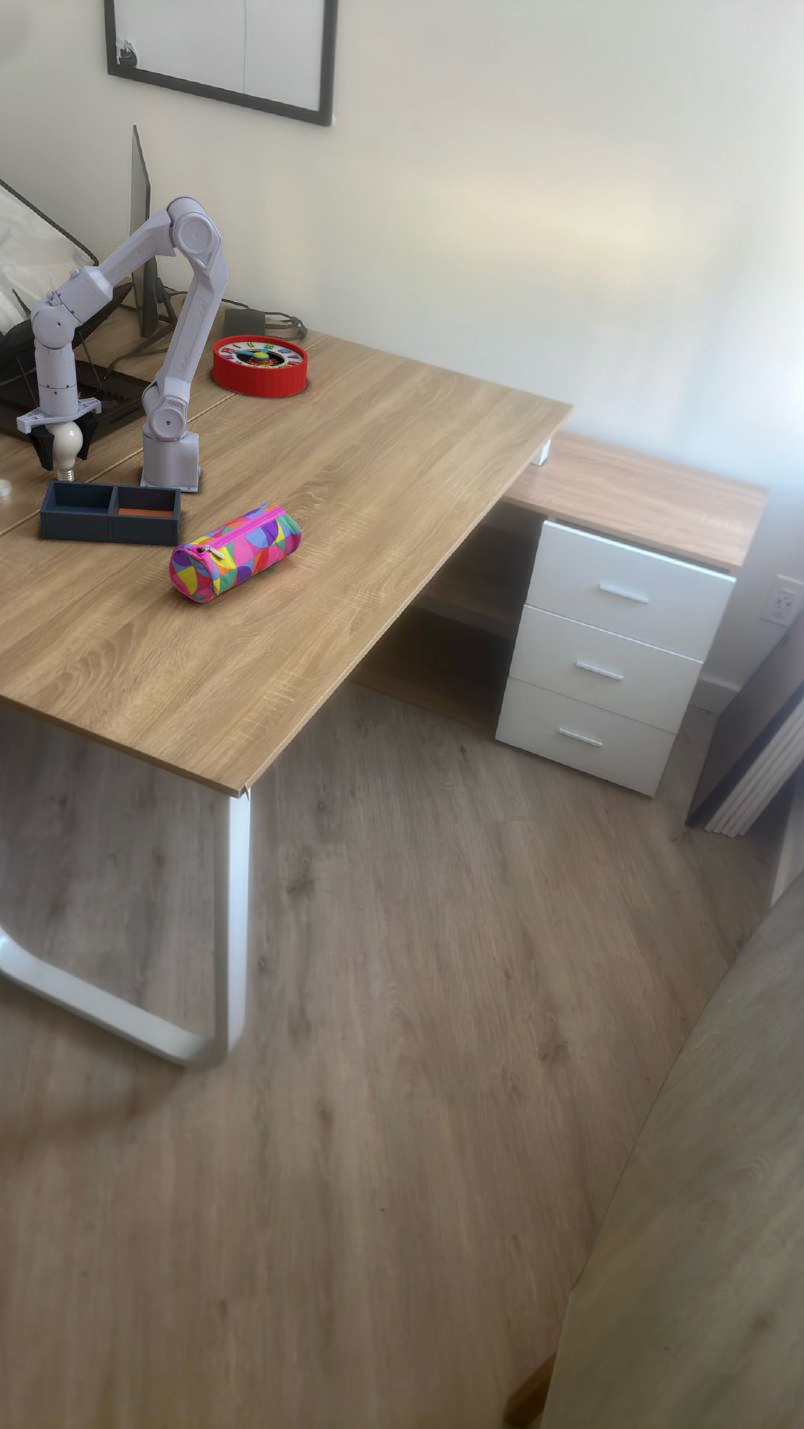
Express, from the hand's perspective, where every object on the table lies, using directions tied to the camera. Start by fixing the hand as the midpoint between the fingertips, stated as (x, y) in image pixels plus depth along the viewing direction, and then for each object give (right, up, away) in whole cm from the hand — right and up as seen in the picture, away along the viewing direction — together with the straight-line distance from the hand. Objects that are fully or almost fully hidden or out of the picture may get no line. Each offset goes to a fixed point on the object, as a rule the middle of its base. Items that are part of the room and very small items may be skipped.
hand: (64, 463), depth 156 cm
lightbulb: (0, -3, +2) cm, 4 cm away
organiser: (+10, -12, -6) cm, 17 cm away
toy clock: (+25, +31, +49) cm, 63 cm away
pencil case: (+31, -21, -13) cm, 39 cm away
